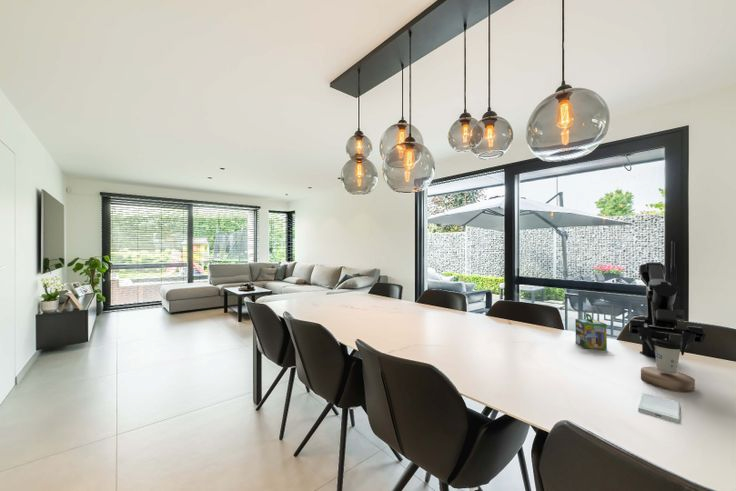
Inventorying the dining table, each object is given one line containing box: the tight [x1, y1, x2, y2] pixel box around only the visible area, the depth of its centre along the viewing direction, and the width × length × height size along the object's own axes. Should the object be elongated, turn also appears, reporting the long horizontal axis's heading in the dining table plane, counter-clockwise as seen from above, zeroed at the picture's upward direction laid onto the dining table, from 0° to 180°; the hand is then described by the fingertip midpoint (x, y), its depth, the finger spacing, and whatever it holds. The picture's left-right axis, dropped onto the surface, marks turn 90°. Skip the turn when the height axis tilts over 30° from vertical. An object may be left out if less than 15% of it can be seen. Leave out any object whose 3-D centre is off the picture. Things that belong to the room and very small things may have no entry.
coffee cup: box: [653, 339, 682, 374], centre depth 104 cm, size 7×7×10 cm
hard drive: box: [637, 392, 681, 424], centre depth 87 cm, size 2×8×12 cm
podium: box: [640, 366, 696, 393], centre depth 103 cm, size 13×13×3 cm
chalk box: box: [575, 312, 608, 350], centre depth 141 cm, size 9×9×15 cm
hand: (667, 352), depth 102 cm, fingers closed on coffee cup, 7 cm apart
